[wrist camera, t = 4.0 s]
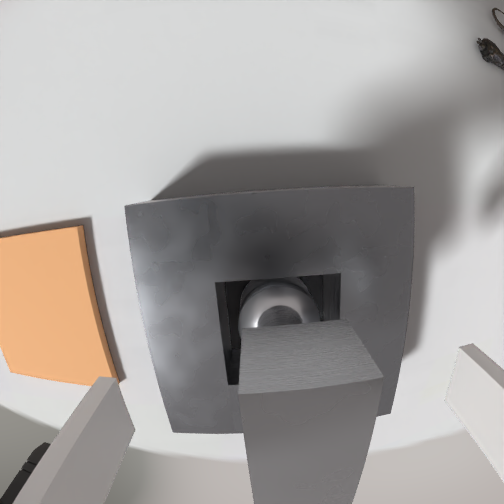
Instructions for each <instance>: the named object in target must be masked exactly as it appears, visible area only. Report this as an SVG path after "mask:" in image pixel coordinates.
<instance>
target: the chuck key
mask: <svg viewBox="0 0 504 504" xmlns="http://www.w3.org/2000/svg"><path fill="white" fill-rule="evenodd" d="M238 330H239V335H240V338H241V340H242V341H241V357H240V374H239V391H238V396H239V403H240V411H241V418H242V425H243V433H244V440H245V447H246V454H247V460H248V467H249V474H250V480H251V487H252V493H253V499H254V504H352V502H353V499H354V496H355V493H356V490H357V487H358V484H359V480H360V477H361V474H362V471H363V467H364V464H365V460H366V456H367V453H368V449H369V445H370V441H371V437H372V433H373V429H374V425H375V420H376V416H377V411H378V406H379V401H380V396H381V391H382V386H383V380H384V376H383V374H382V373H381V371H380V370H379V368H378V367H377V365H376V363H375V362H374V360H373V359H372V357H371V356H370V354H369V352H368V351H367V349H366V348H365V346H364V345H363V343H362V342H361V340H360V339H359V337H358V335H357V334H356V332H355V331H354V329H353V328H352V326H351V325H350V323H349V322H348V320H347V319H341V320H332V321H323V322H320V314H319V311H318V308H317V306H316V304H315V302H314V300H313V298H312V296H311V294H310V292H309V290H308V289H307V287H306V285H305V284H304V282H303V281H302V280H301V279H299V278H298V277H285V278H272V279H258V280H251V281H250V282H249V283H248V284H247V285H246V287H245V289H244V290H243V293H242V295H241V299H240V309H239V320H238Z"/></svg>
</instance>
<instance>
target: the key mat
mask: <svg viewBox="0 0 504 504" xmlns="http://www.w3.org/2000/svg"><path fill="white" fill-rule="evenodd" d="M0 347H1V349H2V352H3V354H4V357H5V360H6V362H7V364H8V367H9V369H10V372H12V373H17V374H21V375H26V376H31V377H36V378H42V379H47V380H53V381H59V382H65V383H72V384H79V385H87V386H92V385H93V384H94V383H95V381H96V380H97V378H98V377H99V376H100V377H111V378H116V379H117V382H118V385H119V383H120V382H119V379H118V376H117V373H116V370H115V367H114V364H113V360H112V357H111V354H110V350H109V347H108V343H107V340H106V336H105V333H104V329H103V325H102V321H101V317H100V313H99V309H98V305H97V300H96V296H95V291H94V286H93V282H92V277H91V271H90V266H89V260H88V255H87V249H86V242H85V236H84V228H83V225H81V226H74V227H67V228H60V229H53V230H46V231H39V232H33V233H26V234H20V235H14V236H8V237H2V238H0Z"/></svg>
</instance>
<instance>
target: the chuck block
mask: <svg viewBox="0 0 504 504" xmlns="http://www.w3.org/2000/svg"><path fill="white" fill-rule="evenodd" d="M125 214H126V223H127V231H128V238H129V245H130V252H131V259H132V265H133V271H134V277H135V283H136V289H137V294H138V299H139V304H140V309H141V314H142V319H143V324H144V328H145V333H146V337H147V341H148V346H149V350H150V354H151V358H152V362H153V366H154V370H155V373H156V377H157V381H158V385H159V388H160V392H161V395H162V399H163V402H164V405H165V409H166V412H167V415H168V418H169V421H170V424H171V428H172V431H173V432H176V433H205V434H228V433H243V425H242V418H241V411H240V403H239V396H238V391H239V374H240V357H241V349H232V345H231V336H230V328H229V319H228V310H227V300H226V291H225V282H228V281H244V280H258V279H272V278H285V277H298V276H310V275H322V274H323V321H332V320H341V319H347V320H348V322H349V323H350V325H351V326H352V328H353V329H354V331H355V332H356V334H357V335H358V337H359V339H360V340H361V342H362V343H363V345H364V346H365V348H366V349H367V351H368V352H369V354H370V356H371V357H372V359H373V360H374V362H375V363H376V365H377V367H378V368H379V370H380V371H381V373H382V374H383V376H384V380H383V386H382V391H381V396H380V401H379V406H378V411H377V416H381V415H386V414H390V413H391V409H392V405H393V400H394V396H395V391H396V387H397V382H398V377H399V372H400V367H401V361H402V355H403V349H404V343H405V336H406V329H407V321H408V313H409V304H410V294H411V283H412V269H413V249H414V187H403V186H386V185H368V186H329V187H305V188H286V189H269V190H254V191H241V192H228V193H217V194H206V195H195V196H186V197H176V198H167V199H158V200H150V201H145V202H140V203H135V204H131V205H126V206H125ZM377 416H376V417H377Z"/></svg>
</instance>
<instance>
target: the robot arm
mask: <svg viewBox="0 0 504 504" xmlns="http://www.w3.org/2000/svg"><path fill="white" fill-rule="evenodd" d="M444 401H445V402H446V403H447V405H448V406H449V407H450V409H451V410H452V411H453V412H454V414H455V415H456V416H457V418H458V419H459V420H460V422H461V423H462V424H463V426H464V427H465V428H466V430H467V431H468V432H469V434H470V435H471V437H472V438H473V439H474V441H475V442H476V443H477V445H478V446H479V448H480V449H481V450H482V452H483V453H484V455H485V456H486V457H487V459H488V460H489V462H490V463H491V465H492V466H493V467H494V469H495V470H496V472H497V473H498V475H499V476H500V477H501V479H502V481H503V482H504V370H503V369H502V368H501V367H500V366H499V365H497V364H496V363H495V362H494V361H493V360H492V359H491V358H489V357H488V356H487V355H486V354H485V353H484V352H482V351H481V350H480V349H479V348H478V347H476V346H475V345H474V344H473V343H472V344H468V345H465V346H461V347H459V350H458V354H457V358H456V362H455V366H454V369H453V373H452V377H451V380H450V383H449V387H448V390H447V393H446V396H445V400H444ZM134 432H135V428H134V425H133V423H132V420H131V418H130V415H129V413H128V410H127V407H126V405H125V402H124V399H123V396H122V394H121V391H120V388H119V385H118V382H117V379H116V378H111V377H100V376H99V377H98V378H97V380H96V381H95V383H94V384H93V385H92V387H91V388H90V389H89V391H88V392H87V394H86V395H85V396H84V398H83V399H82V400H81V402H80V403H79V405H78V406H77V407H76V409H75V410H74V412H73V413H72V415H71V416H70V417H69V419H68V420H67V422H66V423H65V425H64V426H63V427H62V429H61V430H60V432H59V433H58V435H57V436H56V438H55V439H54V441H53V442H52V443H51V444H48V443H43V444H42V445H40V446H39V447H37V448H36V449H35V450H34V451H33V452H32V453H31V455H30V456H29V458H28V459H27V463H26V462H25V464H24V465H23V466H22V468H21V469H22V470H21V471H19V472H18V474H17V475H16V477H15V478H14V480H13V481H12V483H11V484H10V486H9V487H8V489H7V490H6V492H5V493H4V495H3V496H2V498H1V499H0V504H104V502H105V500H106V497H107V495H108V493H109V490H110V488H111V485H112V483H113V481H114V478H115V476H116V474H117V471H118V469H119V466H120V464H121V462H122V459H123V457H124V455H125V452H126V450H127V448H128V446H129V443H130V441H131V439H132V436H133V434H134Z"/></svg>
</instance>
